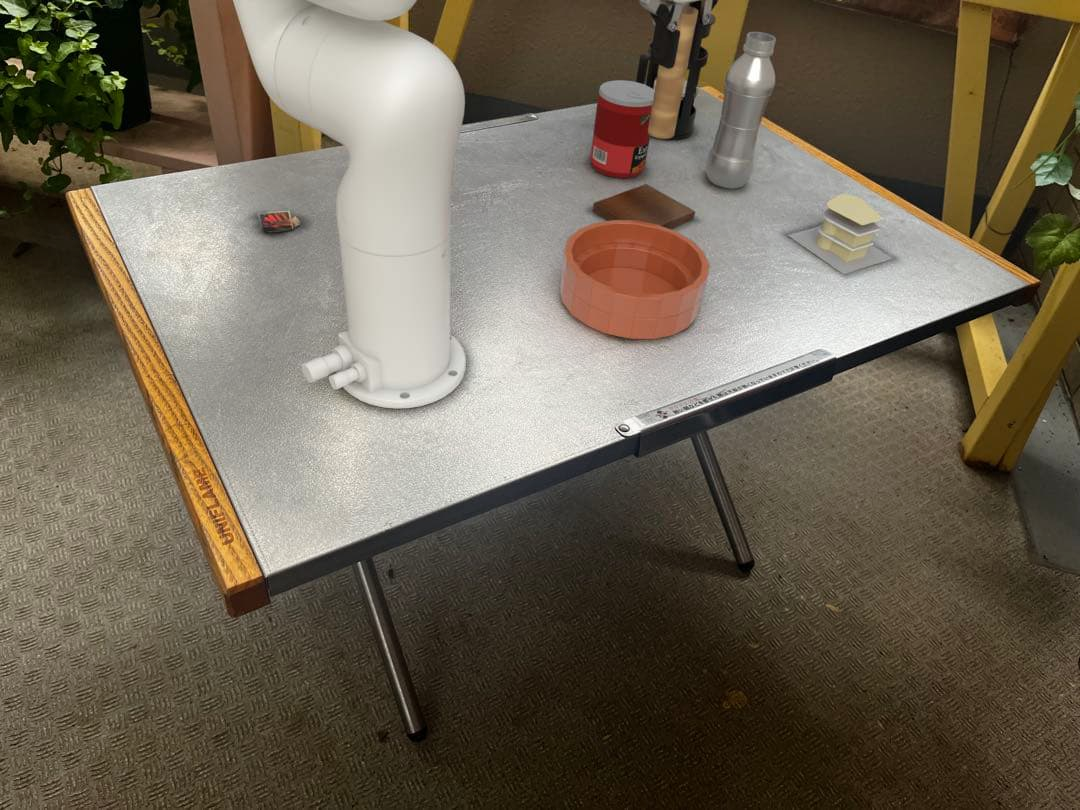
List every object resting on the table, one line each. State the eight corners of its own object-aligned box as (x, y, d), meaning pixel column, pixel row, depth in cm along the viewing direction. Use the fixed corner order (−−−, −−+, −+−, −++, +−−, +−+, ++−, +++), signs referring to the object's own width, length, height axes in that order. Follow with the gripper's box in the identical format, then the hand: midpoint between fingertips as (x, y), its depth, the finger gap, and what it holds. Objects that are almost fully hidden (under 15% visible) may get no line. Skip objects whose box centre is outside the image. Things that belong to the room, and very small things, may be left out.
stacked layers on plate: (892, 258, 102) (909, 220, 99) (843, 274, 99) (859, 235, 95) (835, 222, 109) (849, 184, 105) (787, 235, 105) (799, 197, 101)
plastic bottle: (721, 197, 111) (759, 48, 98) (692, 176, 116) (725, 30, 102) (757, 189, 114) (798, 43, 100) (727, 169, 118) (763, 26, 105)
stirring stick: (661, 141, 95) (684, 15, 85) (642, 131, 96) (663, 6, 87) (679, 135, 96) (704, 11, 87) (660, 125, 98) (682, 2, 89)
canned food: (641, 183, 113) (655, 105, 105) (585, 173, 113) (595, 96, 106) (646, 160, 118) (660, 85, 111) (593, 151, 119) (603, 76, 112)
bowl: (629, 363, 82) (638, 316, 78) (531, 291, 91) (535, 245, 87) (725, 312, 91) (738, 267, 87) (627, 251, 99) (635, 207, 95)
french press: (672, 111, 133) (702, -44, 117) (708, 134, 127) (744, -25, 111) (614, 121, 128) (637, -39, 112) (648, 145, 122) (678, -20, 107)
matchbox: (267, 236, 94) (266, 233, 94) (251, 217, 97) (250, 213, 97) (304, 227, 97) (304, 223, 96) (288, 208, 100) (287, 205, 99)
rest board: (641, 241, 101) (643, 232, 100) (592, 211, 106) (593, 202, 105) (693, 219, 106) (695, 211, 105) (644, 191, 111) (646, 183, 110)
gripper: (681, -118, 72) (647, 86, 85) (790, -128, 81) (744, 59, 93) (623, -135, 76) (598, 63, 89) (732, -142, 85) (696, 39, 97)
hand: (673, 59), depth 91 cm, fingers closed on stirring stick, 3 cm apart
